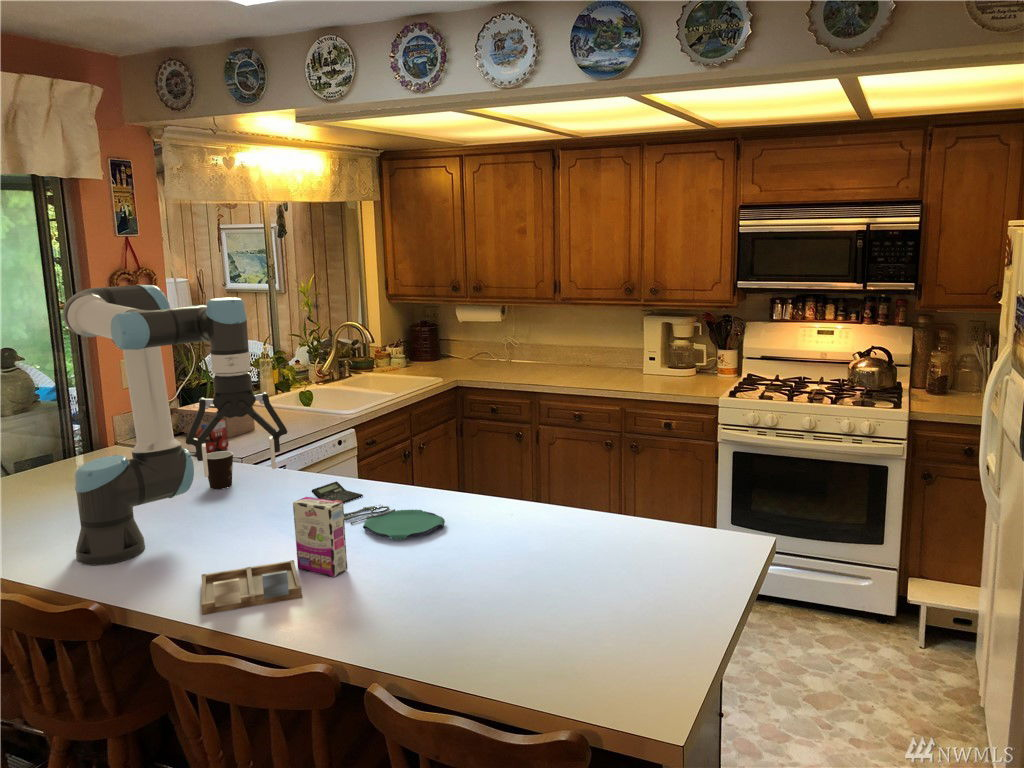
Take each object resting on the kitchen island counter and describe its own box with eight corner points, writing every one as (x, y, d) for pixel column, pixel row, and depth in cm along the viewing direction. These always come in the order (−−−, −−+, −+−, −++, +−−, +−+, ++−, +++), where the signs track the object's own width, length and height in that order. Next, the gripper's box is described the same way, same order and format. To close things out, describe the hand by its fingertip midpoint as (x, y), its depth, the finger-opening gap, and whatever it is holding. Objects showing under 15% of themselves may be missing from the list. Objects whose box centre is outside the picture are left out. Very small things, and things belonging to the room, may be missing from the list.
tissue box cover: (254, 430, 320) (252, 405, 318) (228, 438, 307) (226, 413, 305) (206, 424, 331) (204, 401, 329) (179, 433, 318) (176, 408, 316)
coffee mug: (226, 491, 243) (223, 459, 241) (200, 490, 245) (197, 458, 243) (246, 479, 254) (243, 449, 252) (221, 478, 256) (218, 448, 254)
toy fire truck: (191, 452, 288) (188, 424, 286) (222, 444, 298) (219, 417, 296) (201, 455, 284) (198, 426, 282) (233, 447, 293) (230, 420, 291)
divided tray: (202, 614, 164) (199, 586, 162) (202, 583, 178) (199, 557, 177) (302, 597, 170) (300, 570, 169) (294, 568, 185) (292, 543, 184)
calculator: (338, 506, 228) (337, 496, 228) (311, 499, 235) (311, 489, 234) (362, 497, 235) (362, 487, 235) (336, 490, 242) (335, 481, 242)
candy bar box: (348, 569, 184) (344, 501, 181) (334, 578, 180) (329, 508, 177) (311, 561, 189) (306, 495, 186) (296, 569, 185) (291, 501, 182)
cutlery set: (396, 549, 196) (395, 540, 195) (329, 522, 217) (329, 514, 216) (457, 528, 209) (457, 519, 209) (389, 504, 230) (389, 496, 230)
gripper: (165, 380, 159) (176, 483, 163) (295, 370, 167) (302, 468, 171) (167, 375, 165) (177, 473, 169) (291, 365, 174) (298, 459, 178)
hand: (240, 471), depth 170 cm, fingers open, 13 cm apart
